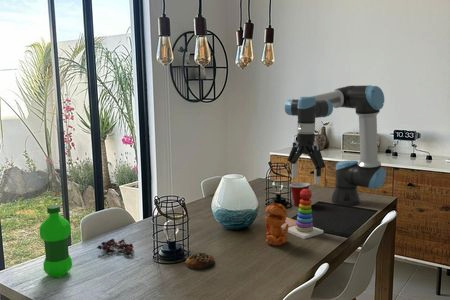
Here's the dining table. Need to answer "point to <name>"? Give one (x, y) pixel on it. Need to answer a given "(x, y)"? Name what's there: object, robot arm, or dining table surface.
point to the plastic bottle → (56, 243)
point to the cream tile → (304, 234)
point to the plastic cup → (298, 191)
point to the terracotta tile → (289, 222)
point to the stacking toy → (305, 212)
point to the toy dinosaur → (276, 224)
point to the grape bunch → (111, 243)
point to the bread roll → (200, 261)
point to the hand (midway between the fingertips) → (305, 180)
